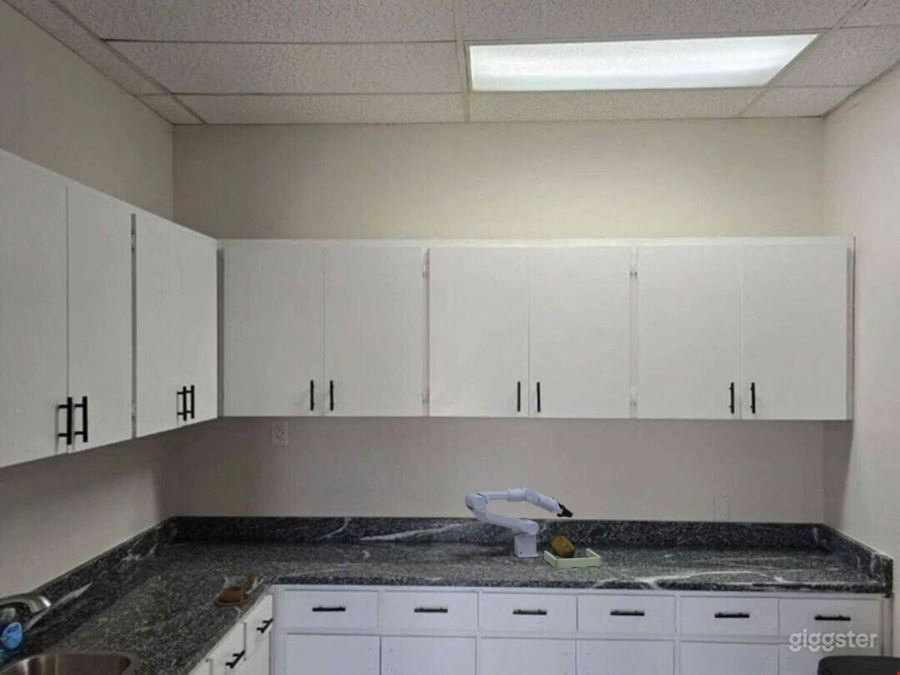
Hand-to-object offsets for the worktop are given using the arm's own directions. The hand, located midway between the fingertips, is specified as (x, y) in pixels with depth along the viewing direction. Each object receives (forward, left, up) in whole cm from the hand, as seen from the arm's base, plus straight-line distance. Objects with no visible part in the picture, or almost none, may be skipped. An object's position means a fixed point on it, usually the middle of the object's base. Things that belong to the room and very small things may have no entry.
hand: (568, 512), depth 317 cm
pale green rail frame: (-5, -18, -17) cm, 26 cm away
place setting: (-139, -39, -18) cm, 146 cm away
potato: (-5, -6, -18) cm, 19 cm away
